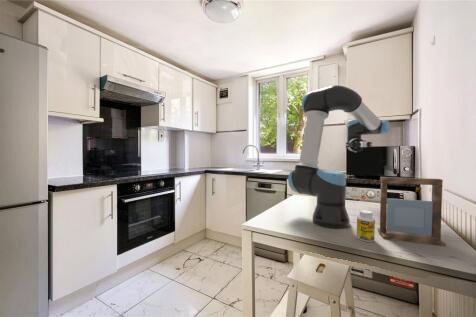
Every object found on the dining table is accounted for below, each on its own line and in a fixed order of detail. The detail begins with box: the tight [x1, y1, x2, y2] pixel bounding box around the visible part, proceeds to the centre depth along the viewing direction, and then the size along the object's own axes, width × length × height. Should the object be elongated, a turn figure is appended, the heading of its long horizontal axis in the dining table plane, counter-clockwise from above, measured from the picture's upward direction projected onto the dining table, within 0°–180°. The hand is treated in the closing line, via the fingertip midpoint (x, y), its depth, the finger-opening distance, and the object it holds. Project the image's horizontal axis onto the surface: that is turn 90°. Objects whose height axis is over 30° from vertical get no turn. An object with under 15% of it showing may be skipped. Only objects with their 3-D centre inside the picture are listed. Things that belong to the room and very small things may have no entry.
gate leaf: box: [386, 197, 433, 236], centre depth 78 cm, size 13×2×12 cm, turn 68°
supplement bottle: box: [356, 209, 376, 243], centre depth 77 cm, size 6×6×10 cm
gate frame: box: [377, 176, 446, 247], centre depth 78 cm, size 18×8×22 cm, turn 69°
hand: (364, 144), depth 102 cm, fingers closed
